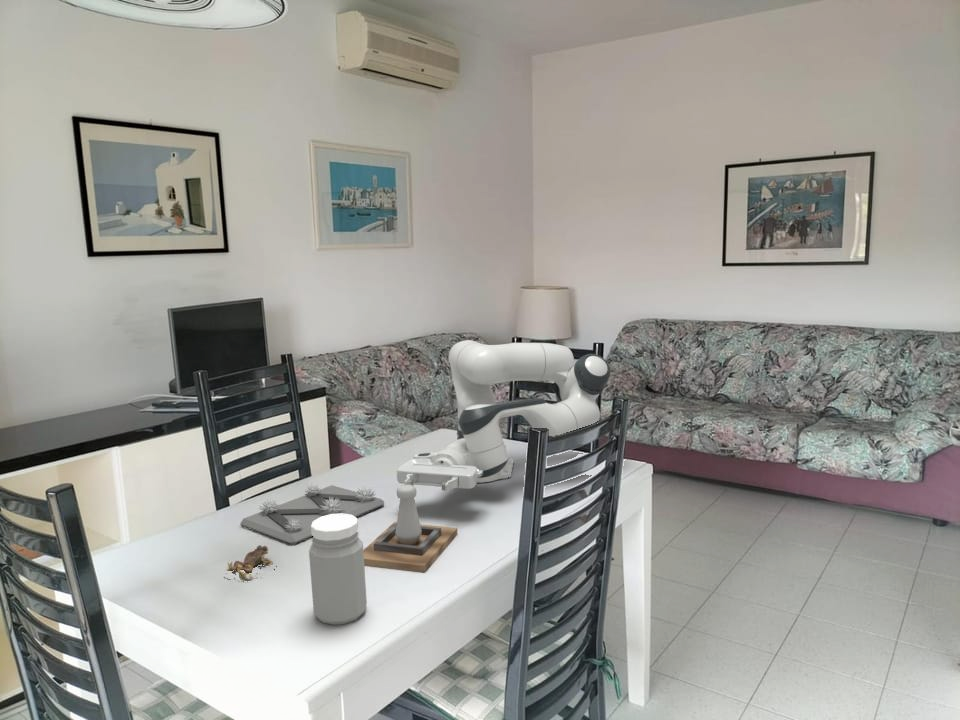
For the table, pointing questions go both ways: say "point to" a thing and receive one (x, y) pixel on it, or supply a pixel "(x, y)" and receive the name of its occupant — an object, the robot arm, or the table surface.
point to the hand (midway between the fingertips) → (425, 486)
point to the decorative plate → (309, 511)
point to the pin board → (408, 549)
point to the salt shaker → (407, 516)
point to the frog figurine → (250, 563)
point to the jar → (337, 569)
